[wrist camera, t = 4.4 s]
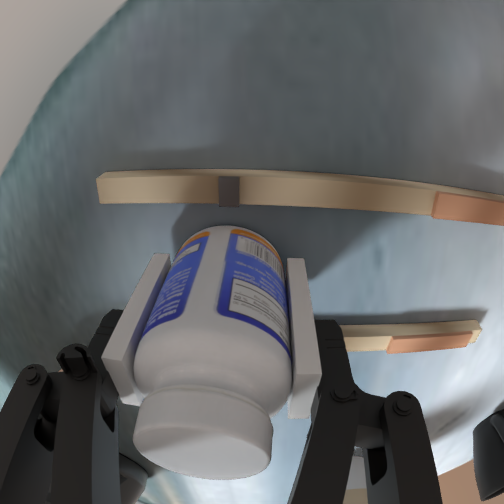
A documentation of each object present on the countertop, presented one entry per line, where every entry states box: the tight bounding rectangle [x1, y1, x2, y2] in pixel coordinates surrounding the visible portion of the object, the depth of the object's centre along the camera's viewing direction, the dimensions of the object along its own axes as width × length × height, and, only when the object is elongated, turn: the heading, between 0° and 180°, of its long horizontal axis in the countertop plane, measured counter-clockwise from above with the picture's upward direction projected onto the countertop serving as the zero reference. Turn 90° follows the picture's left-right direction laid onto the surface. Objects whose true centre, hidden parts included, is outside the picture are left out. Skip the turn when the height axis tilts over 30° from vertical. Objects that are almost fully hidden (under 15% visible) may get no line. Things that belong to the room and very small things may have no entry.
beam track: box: [96, 169, 504, 354], centre depth 15 cm, size 22×10×1 cm, turn 89°
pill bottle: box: [133, 226, 292, 480], centre depth 12 cm, size 5×5×10 cm
